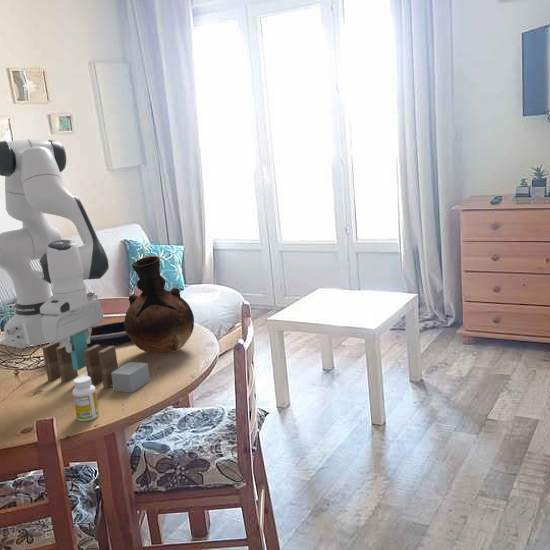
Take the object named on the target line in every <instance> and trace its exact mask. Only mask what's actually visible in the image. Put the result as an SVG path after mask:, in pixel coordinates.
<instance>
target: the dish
mask: <svg viewBox="0 0 550 550" xmlns="http://www.w3.org/2000/svg"><path fill="white" fill-rule="evenodd" d="M124 321H125V320H122V321H115V322H106V323H102V324H101V323H99V324H97V325H94V326H92V327H91V329H92V331H91V335H90V343H89V344H87V347H88V348H90V347H92V346H94V345H101V347H106V346H114V345H118V344H124V343H130V342H132V340H131V339H130V338H129V336H128V335H127V333H126V330H125V327H124Z"/></svg>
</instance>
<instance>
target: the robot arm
mask: <svg viewBox="0 0 550 550" xmlns="http://www.w3.org/2000/svg"><path fill="white" fill-rule="evenodd" d="M67 161H68V159H67V153H66V149H65V147H64V145H63V144H62V143H61V142H60V141H56V140H53V139H48V140H44V139H43V140H42V139H28V138H27V139H23V140H21V139H20V140H11V141H10V140H9V141H6V140H1V141H0V176H2V177H4V193H5V194H4V195H5V196H4V197H5V198H4V199H5V210H6V213H7V214H8V215H9V216H10V217H11V218H12V219H15V220H17V221H20V222H22V228H20V229H15V230H8V231H3V232H0V268H1V269H2V270H3V271H5V272H6V273H7V275H8V276H9V278H10V279H11V281H12V283H13V287H14V292H15V295H16V300H17V303H16V304H13V305H12V309H15V314H14V315H13V316H12V317H11V318H10V319H9V320H8V321H7V322H6V323H5V324H4V328H3V333H4V336H3V337H1V338H0V345H2V346H7V347H12V348H15V347H16V348H15V349H20V348H21V349H20V350H23V349H22V348H24V349H27V348H26V347H28V346H30V345H32V344H33V347H35V346H34V345H40V344H43V343H46V342H48V343H49V344H50V343H57V342H60V341H61V342H62V343H63V345H64V346H65V347H66V352H68V353H71V352H73V351H74V350H75V349H74V345H71V344H70V342H69V341H70V336H73V335H75V334H77V333H79V332H81V331H84V330H85V335H86V341H87V344H89V343H90V335H91V331H92V329H91V327H92V326H95V325H100V324H101V323H102V322H103V321H104V313H103V309H102V306H101V302H100V301H99V298H98V297H99V296H98V295H97V294H96V293H95V292H93V291H90V292H88V293H87V287H86V284H85V282H84V281H85V280H86V281H87V280H88V281H89V280H97V279H99V280H100V279H101V278H103V276H104V275H106V273H107V272H108V270H109V266H110V265H109V264H110V263H109V258H108V255H107V252H106V251H105V249H104V247H103V245H102V244H101V242H100V240H99V238H98V236H97V233H96V230H95V229H94V226H93V224H92V222H91V220H90V218H89V216H88V214H87V211H86V209H85V207H84V205H83V203H82V201H81V200H80V197H78V195H76V194H74V193H71V192H70V191H69V190H68V189H67V188H66V185H64V182H63V179H62V175H61V173H62V172H63V171H64V170H65V168H66V166H67ZM45 214H47V215H53V216H56V217H60V218H61V217H62V218H65V219H67V220H69V221H71V222H72V223H73V225H74V226H75V228H76V230H77V233H78V236H79V237H80V239H81V241H82V244H83V245H81V246H78V245H77V242H75V240H74V241H73V240H72V239H71V240H70V239H63V235H62V233H61V232H60V230H59V229H58V228H57V227H56V226H54V225H52V224H51V223H50V222H49V221H48V219H47V218H46V216H45ZM35 260H38V262H39V263H40V267H41V271H40V270H36V269H34V268H33V267H32V265H31V261H35ZM51 285H52V286H51ZM12 340H14V341H12ZM40 346H41V345H40ZM28 348H29V347H28Z"/></svg>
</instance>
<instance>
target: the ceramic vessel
mask: <svg viewBox="0 0 550 550" xmlns="http://www.w3.org/2000/svg"><path fill="white" fill-rule="evenodd" d="M160 259H161V258H160V257H159V256H158V255H150V256H144V257H141V258H139V259H138V260H136V261H134V262H132V264H131V267H132V269H133V270H134V272H135V273H136V274H137V277H138V278H139V279H138V280H137V282H136V287H137V289H138V290H140V291H141V293H140V295H136V294H134V293H133V294H129V296H128V302H129V307H128V309H127V310H126V312H125V316H124V320H123V321H124V327H125V330H126V333H127V335H128V336H129V338H130V339H131V340H132V341H131V342H132V343H133V345H135V347H137V348H138V349H139V350H141V351H142V352H143V351H144V352H146V353H147V354H151V355H153V354H154V355H165V354H170V353H173V352H177V351H178V352H179V351H180V349H182V348H183V346H184V345H185V344H186V343H187V342H188V341H189V339H190V338H191V335H192V333H193V331H194V328H195V317H194V313H193V310H192V308H191V307H190V304H189V303H188V302H187V301H186V300H185V299H184V298H182V297H181V293H180V290H179V288H177V287H173V288H172V289H170V290H168V289H165V285H166V280H165V278H164V277H163V276H162V275H161V260H160Z"/></svg>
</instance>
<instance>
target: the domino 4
mask: <svg viewBox="0 0 550 550" xmlns="http://www.w3.org/2000/svg"><path fill="white" fill-rule="evenodd" d="M101 350H102V346H101V345H94V346H92V347H88V349H86V350H84V355H85V361H86V366H85V367H86V374H87V376H89V377H90V378H91V385H93V386H94V387H95V386H96V385H97V384H99V383H101V382H103V379H102V373H101V366H100V360H99V353H98V352H99V351H101Z"/></svg>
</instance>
